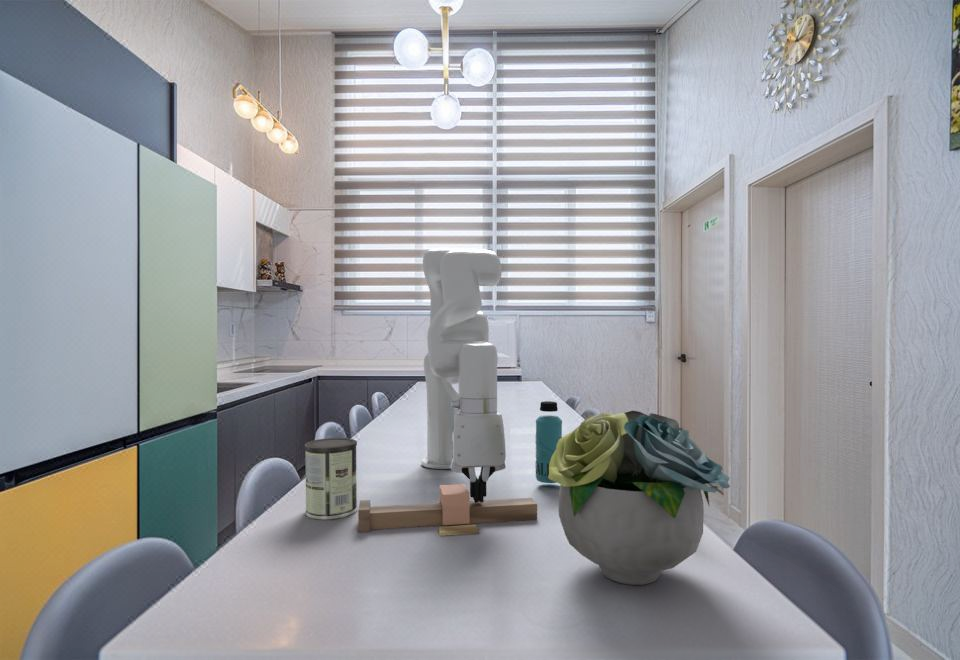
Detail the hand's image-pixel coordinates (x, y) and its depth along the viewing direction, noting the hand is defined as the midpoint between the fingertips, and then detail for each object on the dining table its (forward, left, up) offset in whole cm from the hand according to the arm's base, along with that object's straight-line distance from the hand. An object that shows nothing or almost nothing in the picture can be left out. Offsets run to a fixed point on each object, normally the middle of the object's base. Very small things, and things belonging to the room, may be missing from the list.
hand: (478, 500), depth 109 cm
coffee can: (-10, -29, -4) cm, 31 cm away
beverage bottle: (-20, +20, -4) cm, 29 cm away
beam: (0, -5, -4) cm, 6 cm away
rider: (0, -5, -4) cm, 6 cm away
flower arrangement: (+28, +18, -4) cm, 34 cm away
